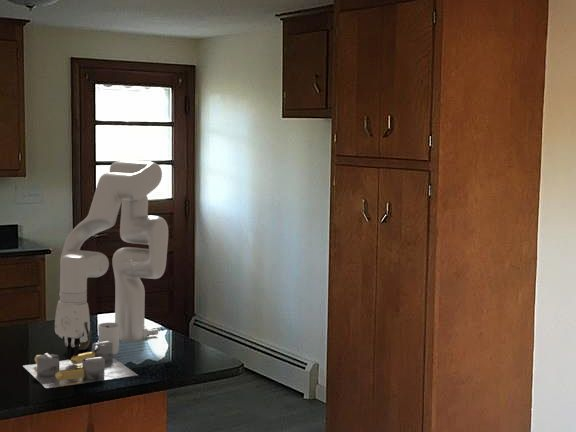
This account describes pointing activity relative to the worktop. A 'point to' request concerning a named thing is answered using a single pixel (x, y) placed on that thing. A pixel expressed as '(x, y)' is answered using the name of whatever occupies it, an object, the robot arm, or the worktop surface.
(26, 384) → the worktop surface
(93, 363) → the knob left
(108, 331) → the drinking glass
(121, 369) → the plate
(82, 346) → the cup
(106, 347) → the knob
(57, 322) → the robot arm
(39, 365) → the knob
